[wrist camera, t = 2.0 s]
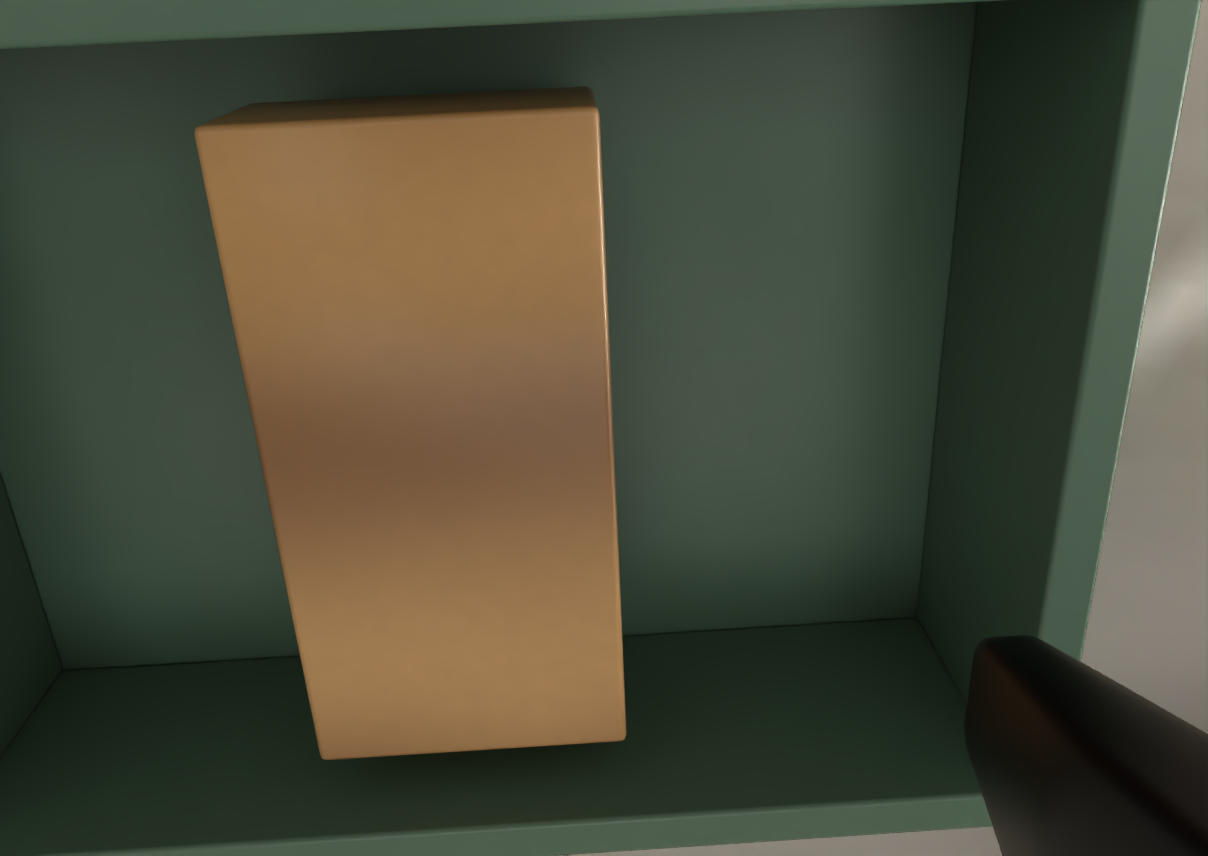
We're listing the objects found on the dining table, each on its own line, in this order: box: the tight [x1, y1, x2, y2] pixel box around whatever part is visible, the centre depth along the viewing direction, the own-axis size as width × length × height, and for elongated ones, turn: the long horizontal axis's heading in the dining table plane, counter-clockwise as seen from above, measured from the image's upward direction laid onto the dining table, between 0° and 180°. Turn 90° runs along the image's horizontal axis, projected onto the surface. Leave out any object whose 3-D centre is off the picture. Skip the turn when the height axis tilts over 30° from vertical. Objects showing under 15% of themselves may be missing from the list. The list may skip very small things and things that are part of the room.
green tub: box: [0, 0, 1201, 856], centre depth 13 cm, size 11×15×4 cm
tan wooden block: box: [194, 86, 627, 760], centre depth 13 cm, size 8×4×4 cm, turn 2°
